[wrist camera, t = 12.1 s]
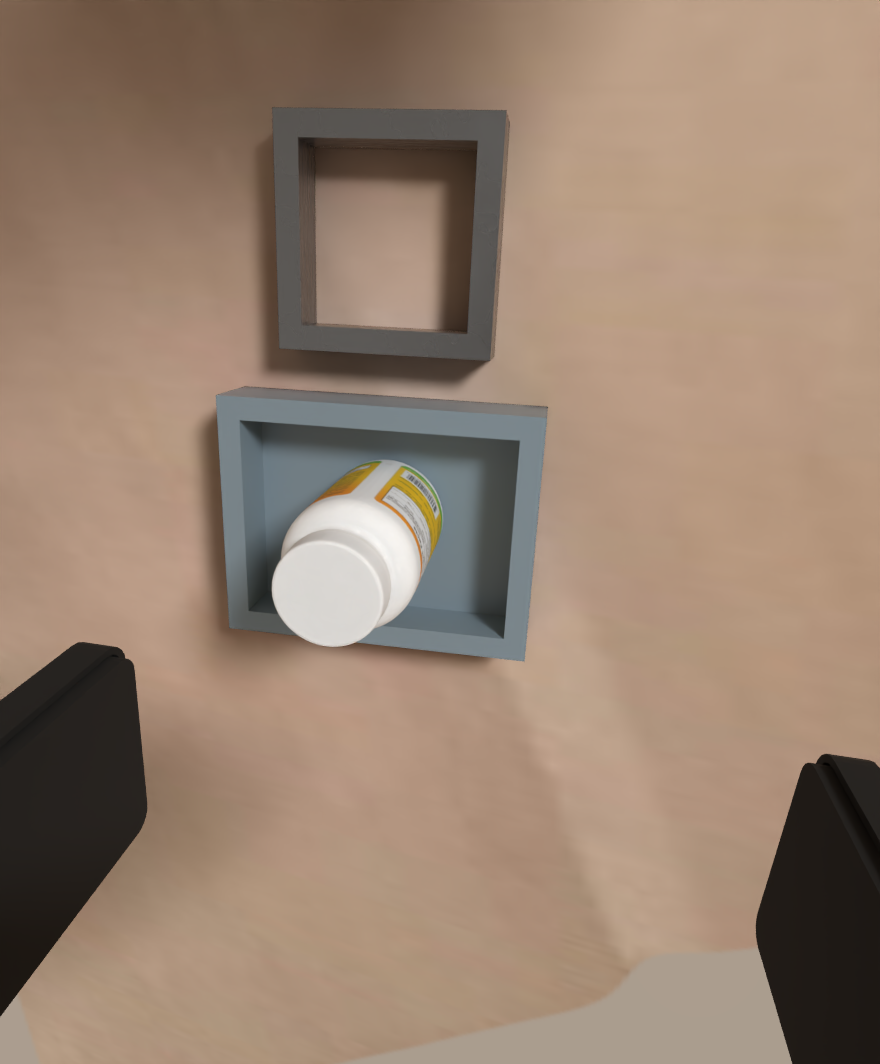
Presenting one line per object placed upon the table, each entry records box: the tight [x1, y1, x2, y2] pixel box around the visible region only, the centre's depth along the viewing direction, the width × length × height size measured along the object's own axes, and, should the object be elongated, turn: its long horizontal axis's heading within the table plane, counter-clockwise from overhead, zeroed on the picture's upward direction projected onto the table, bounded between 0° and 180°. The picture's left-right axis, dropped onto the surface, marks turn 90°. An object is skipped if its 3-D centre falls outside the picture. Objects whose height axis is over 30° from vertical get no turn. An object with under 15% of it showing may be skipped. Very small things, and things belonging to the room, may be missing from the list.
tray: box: [216, 387, 548, 661], centre depth 32 cm, size 11×14×3 cm
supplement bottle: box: [272, 460, 443, 647], centre depth 29 cm, size 5×5×10 cm
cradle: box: [272, 107, 510, 361], centre depth 29 cm, size 9×9×2 cm
